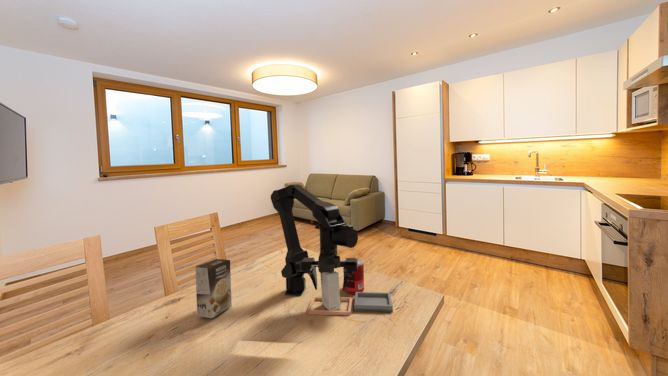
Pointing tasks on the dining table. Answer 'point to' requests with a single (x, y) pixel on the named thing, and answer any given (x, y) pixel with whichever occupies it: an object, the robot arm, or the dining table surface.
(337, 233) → the robot arm
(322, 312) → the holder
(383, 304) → the tray
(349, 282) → the canned food
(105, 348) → the dining table surface
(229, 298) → the coffee box
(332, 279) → the skincare box
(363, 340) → the dining table surface
